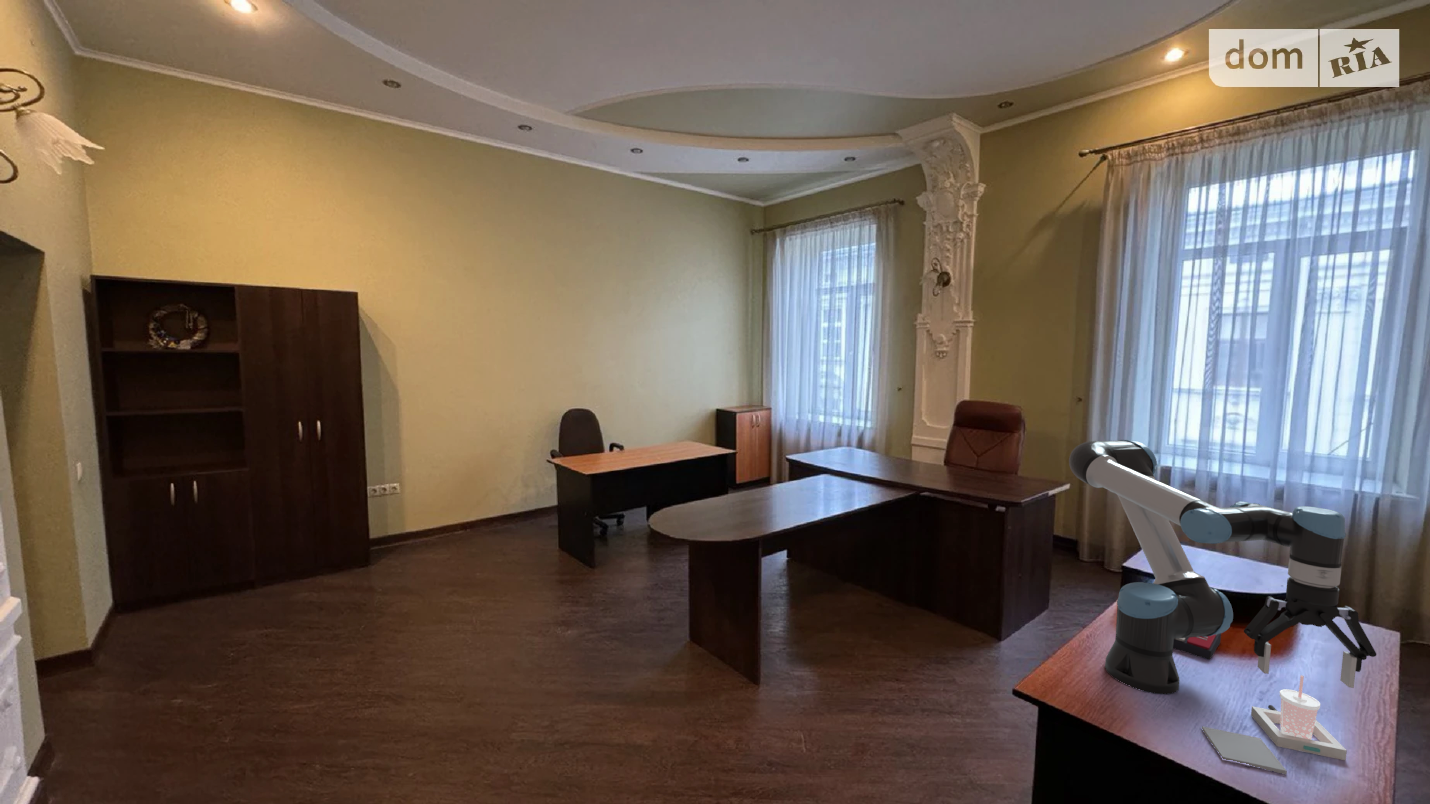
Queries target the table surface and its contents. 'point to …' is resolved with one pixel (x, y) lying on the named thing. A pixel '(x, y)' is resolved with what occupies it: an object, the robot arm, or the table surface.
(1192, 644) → the red and black box
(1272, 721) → the beige flat rectangular frame
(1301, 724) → the beverage cup
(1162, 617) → the robot arm
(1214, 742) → the coaster pad
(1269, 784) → the table surface
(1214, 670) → the table surface
